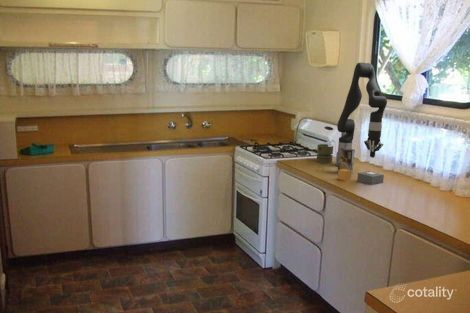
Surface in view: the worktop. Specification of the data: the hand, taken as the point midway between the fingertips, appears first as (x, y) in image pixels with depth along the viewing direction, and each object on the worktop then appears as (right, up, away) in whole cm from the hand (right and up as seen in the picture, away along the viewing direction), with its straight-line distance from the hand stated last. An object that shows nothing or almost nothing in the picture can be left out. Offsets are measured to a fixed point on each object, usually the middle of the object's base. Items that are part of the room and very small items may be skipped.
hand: (372, 157), depth 295 cm
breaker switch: (0, -13, +2) cm, 13 cm away
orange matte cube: (-16, -14, +6) cm, 22 cm away
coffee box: (-11, -11, +23) cm, 28 cm away
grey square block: (0, -15, +3) cm, 15 cm away
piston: (-18, -3, +58) cm, 61 cm away
